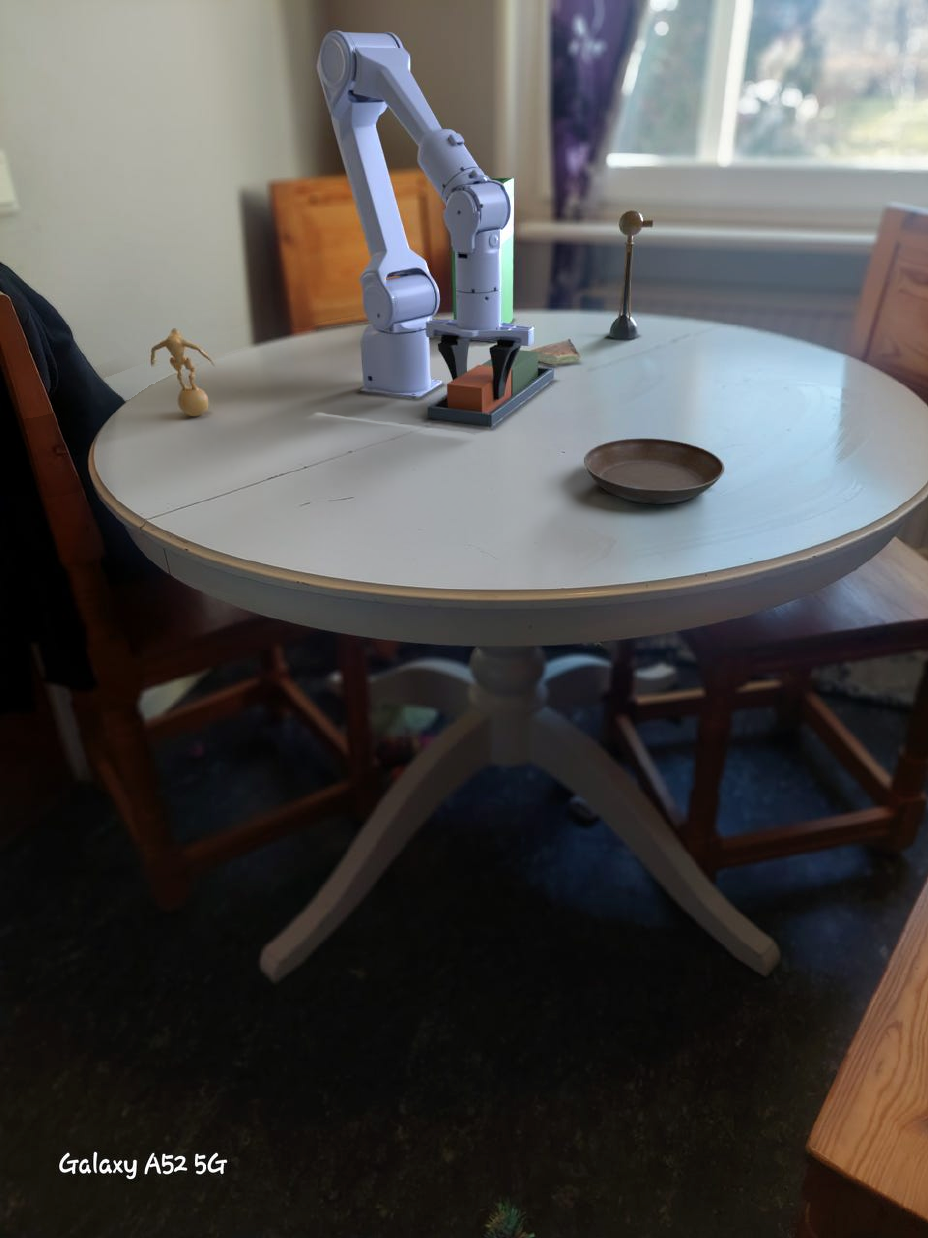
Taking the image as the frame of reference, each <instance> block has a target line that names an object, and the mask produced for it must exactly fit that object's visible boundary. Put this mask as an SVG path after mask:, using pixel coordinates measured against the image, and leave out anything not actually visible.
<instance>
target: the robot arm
mask: <svg viewBox="0 0 928 1238" xmlns="http://www.w3.org/2000/svg"><path fill="white" fill-rule="evenodd" d="M410 56H411V55H410V53H409V52H408V51H407V50H406V49H405V48H404V46H403V43H402V41H401V39H400V38H399V36H398V35H396V34H395V33H394V32H391V31H383V32H381V33H379V32H378V33H377V32H376V33H375V32H349V31H347V32H345V31H341V30H337V29H335V30H331V31H329V32H328V33H326V35H325V36H324V37H323V40H322V42H321V44H320V50H319V53H318V58H317V63H316V70H317V74H318V77H319V81H320V84H321V87H322V91H323V94H324V98H325V102H326V105H327V109H328V113H329V114H330V118H331V124H332V127H333V131H334V134H335V138H336V141H337V142H336V143H337V145H338V148H339V152H340V156H341V159H342V163H343V167H344V169H345V173H346V176H347V180H348V183H349V187H350V190H351V194H352V198H353V201H354V204H355V208H356V211H357V212H356V213H357V215H358V218H359V222H360V226H361V229H362V232H363V237H364V239H365V243H366V247H367V250H368V253H369V257H370V260H369V262H368V264H367V265H366V266H365V268H364V269H363V271H362V273H361V274H360V276H359V282H360V286H361V289H362V307H363V311H364V315H365V317H366V319H367V321H369V323H370V325H368V326H366V327H365V329H364V330H363V332H362V335H361V338H360V360H361V372H362V382H363V383H362V386H363V387H361V388H360V391H361V392H366V393H373V394H374V393H375V394H382V395H390V396H399V397H406V398H407V397H408V398H414V399H415V398H420V397H422V396H424V395H426V394H427V393H428V392H430V391H432V390H434V389H435V388H437V387H438V386H440V385H441V384H442V383H443V381H442V380H437V379H431V357H430V356H431V355H430V353H431V352H430V338H433V339H434V338H436V337H437V338H441V339H440V342H438V343H437V350H438V352H439V353H440V354H441V356H442V358H443V360H444V362H445V364H446V367H447V368H448V370H449V374H450V376H451V381H453V380H455V379H456V378H458V377H459V376H461V375H463V374H464V373H466V372H468V358H469V357H468V356H469V348H470V347H469V346H470V342H471V340H472V341H480V342H491V341H492V342H491V343H496V344H493V345H492V346H490V347H489V349H488V350H489V356H490V359H491V361H492V368H493V393H494V399H497V400H499V399H500V398H502V397H503V396H504V394H505V388H506V383H507V379H508V376H509V373H510V370H511V367H512V364H513V362H514V360H515V358H516V355H517V353H518V352H519V350H521V348H522V347H529V346H531V345H532V344H534V343H535V341H534V340H535V327H533V326H524V325H519V324H513V323H510V324H509V323H504V322H501V230H503V229H504V228H505V227H506V226H507V224H508V222H509V219H510V215H511V202H510V198H509V195H508V193H507V191H506V189H505V186H504V185H503V184H502V183H501V182H499V181H496V180H491V179H490V178H491V177H489V175H486V174H485V173H484V171H483V170H482V168H480V167H479V165H478V163H477V162H476V161H475V160H474V158H473V156H472V155H471V153H470V152H469V151H468V149H467V148H466V146H465V144H464V143H465V139H464V138H463V136H462V135H461V133H460V132H456V131H455V130H453V129H450V128H442V127H441V125H440V123H439V121H438V119H437V117H436V116H435V114H434V112H433V110H432V108H431V107H430V105H429V102H427V99H426V98H425V96H424V94H423V92H422V90H421V88H420V87H419V85H418V83H417V81H416V79H415V77H414V76H413V74H412V72H411V57H410ZM387 108H389V110H390V111H391V112H392V114H393V115H394V116H395V118H396V119H397V120H398V122H399V123H400V124H401V126H402V127H403V128H404V129H405V130H406V132H407V133H408V134H409V136H410V137H411V138H412V140H413V142H415V145H417V146H418V149H417V150H418V151H417V157H416V158H417V163H418V166H419V167H420V168H421V170H422V172H423V173H424V175H425V176H426V178H427V179H428V181H429V182H430V184H431V185H432V187H433V188H434V190H435V191H436V193H437V194H438V196H439V198H440V199H441V201H442V202H443V204H444V205H445V209H443V210H442V215H443V221H444V223H445V227H446V228H447V230H448V232H449V235H450V244H451V245H450V246H451V248H452V247H453V251H455V268H456V309H457V320H454V319H435V318H434V317H435V316H436V314H437V313H438V310H439V307H440V303H441V302H440V301H441V297H440V291H439V287H438V284H437V283H436V280H435V279H434V278H433V276H432V275H431V273H430V270H429V268H428V264H427V261H426V260H425V258H423V257H421V256H420V255H419V254H417V252H415V251H413V250H412V249H411V248H410V247H409V244H408V239H407V236H406V232H405V229H404V225H403V222H402V218H401V214H400V210H399V207H398V202H397V200H396V195H395V192H394V189H393V188H394V187H393V185H392V181H391V177H390V174H389V170H388V166H387V162H386V159H385V156H384V155H385V154H384V152H383V149H382V145H381V141H380V137H379V133H378V130H377V122H378V120H379V116H380V115H382V114H384V112H386V110H387Z"/></svg>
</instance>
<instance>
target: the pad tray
mask: <svg viewBox="0 0 928 1238" xmlns="http://www.w3.org/2000/svg"><path fill="white" fill-rule="evenodd" d="M554 375H555V368H551V367H542V366H538V378H536V379H535V380H534V381H532V382H531V383H530V384H528V385H527V386H526V387H524V388H523V389H521V390H520V391H519V392H517V393H516V394H515V395H513V396H512V397H511V398H509V399H508V400H506V401H505V402H503V403H502V404H501V405H499V406H498V407H497V408H495V409H494V410H493V411H491V412H490V413H483V412H475V411H467V410H459V409H451V408H448V402H447V394H446V395H444V396H442V397H441V398H439V399H437V400H436V401H435V402H433V403H431V404H430V405H428V406H426V407H427V408H426V409H427V419H428V420H437V421H445V422H450V423H459V424H466V425H474V426H482V427H489V428H492V427H494V426H495V425H496V424H497V423H499V422H500V421H502V420H503V419H504V418H505V417H507V416H508V415H509V414H511V413H512V412H513V411H514V410H516V409H517V408H518V407H519V406H521V405H522V404H523V403H525V402H526V401H527V400H529V399H530V398H531V397H532V396H534V395H535V394H536V393H537V392H539V391H541V390H542V389H543V388H544V387H545V386H547V385H548V384H549V383H551V382H552V381H553V380H554V377H555V376H554Z"/></svg>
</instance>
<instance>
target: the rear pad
mask: <svg viewBox="0 0 928 1238" xmlns="http://www.w3.org/2000/svg"><path fill="white" fill-rule="evenodd" d="M481 365H485V366H492V361H491V358H490V359H488V360H487V361H484V362H483V363H482V364H481ZM538 367H539V361H538V352H534V351H531V350H522V349H520V350H519V352H518V353H517V355H516V358H515V360H514V362H513V364H512V367H511V397H512V396H513V395H515V394H516V393H517V392H519V391H520V390H521V389H523V388H524V387H526V386H527V385H528V384H530V383H531V382H532V381H534V380H535V379H536V378H538ZM511 397H510V398H511Z"/></svg>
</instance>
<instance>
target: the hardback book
mask: <svg viewBox="0 0 928 1238" xmlns="http://www.w3.org/2000/svg"><path fill="white" fill-rule="evenodd" d="M489 178H490V179H491V180H496V181H499V182H501V183H502V184H503V185H504V186H505V189H506V191H507V193H508V195H509V198H510V202H511V215H510V219H509V222H508V224H507V226H506V227H505V228H504V229H503V230H501V322H504V323H509V324H512V322H513V320H514V212H515V211H514V209H515V207H514V205H515V203H514V200H515V199H514V198H515V197H514V196H515V194H514V192H515V190H514V188H515V181H514V180H515V177H489ZM451 267H452V269H451V271H452V272H451V273H452V305H453V306H452V309H453V320H457V309H456V268H455V251H453V247H452V246H451ZM490 343H493V342H492V341H490Z"/></svg>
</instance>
